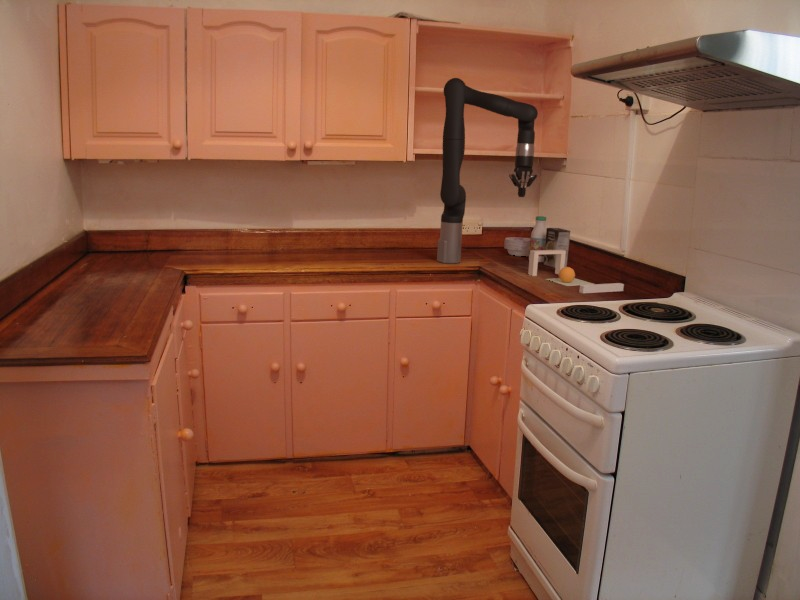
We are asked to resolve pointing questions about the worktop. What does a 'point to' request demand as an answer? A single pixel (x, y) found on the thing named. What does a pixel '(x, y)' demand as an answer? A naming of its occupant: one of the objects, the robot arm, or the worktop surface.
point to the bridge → (535, 253)
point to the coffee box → (556, 245)
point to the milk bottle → (538, 237)
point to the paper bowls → (517, 246)
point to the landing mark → (572, 283)
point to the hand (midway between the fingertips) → (521, 196)
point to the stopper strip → (601, 288)
